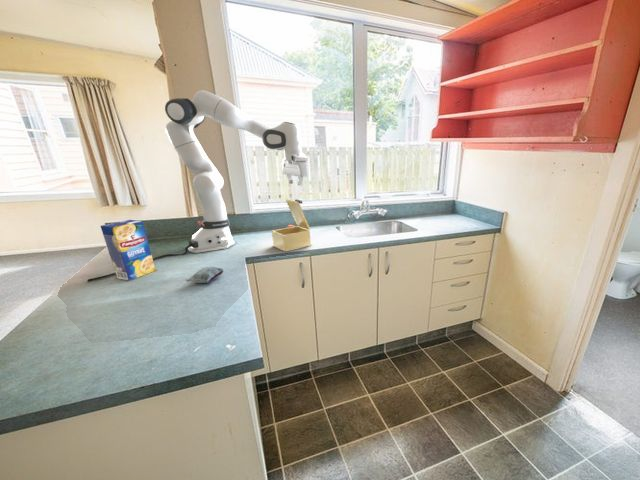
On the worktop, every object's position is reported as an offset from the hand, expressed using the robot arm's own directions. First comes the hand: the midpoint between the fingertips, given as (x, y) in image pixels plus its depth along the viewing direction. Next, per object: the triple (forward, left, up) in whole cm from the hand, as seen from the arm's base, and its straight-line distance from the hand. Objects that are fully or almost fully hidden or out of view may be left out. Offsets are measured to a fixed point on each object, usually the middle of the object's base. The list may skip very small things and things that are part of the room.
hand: (295, 184), depth 156 cm
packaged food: (-53, -17, -33) cm, 65 cm away
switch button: (+7, +22, -29) cm, 37 cm away
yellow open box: (-5, 0, -33) cm, 33 cm away
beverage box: (-72, +9, -33) cm, 80 cm away
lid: (0, 0, -16) cm, 16 cm away
